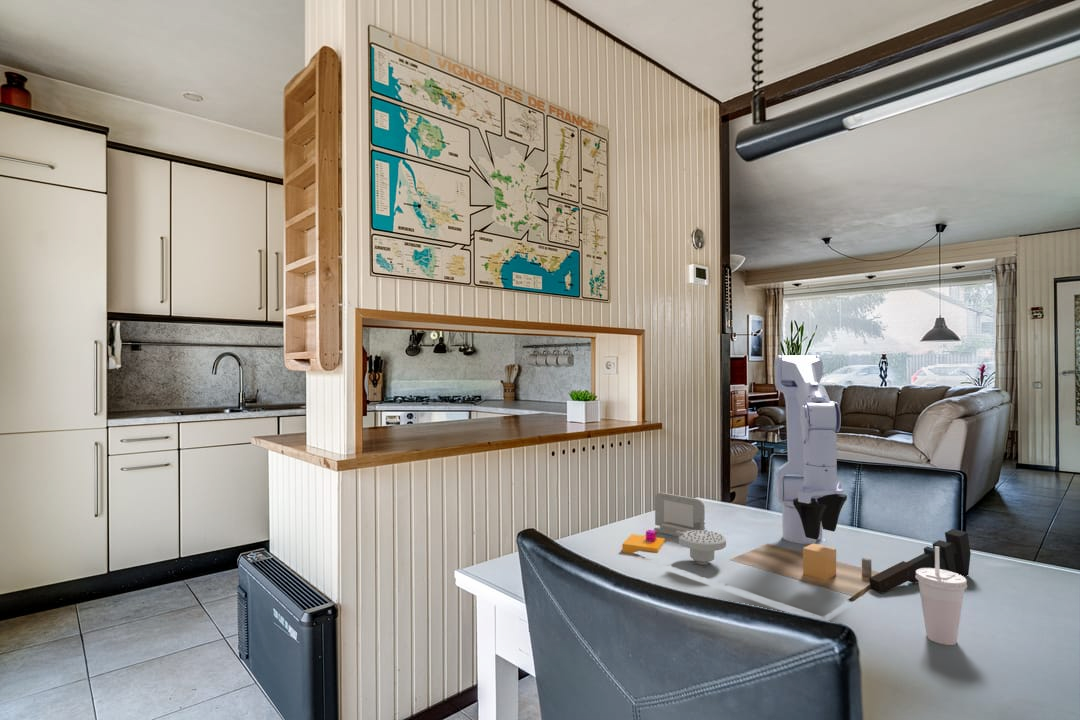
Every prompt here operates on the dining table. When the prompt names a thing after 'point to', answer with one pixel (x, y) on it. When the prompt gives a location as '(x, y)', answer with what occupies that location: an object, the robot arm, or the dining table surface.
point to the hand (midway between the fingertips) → (820, 534)
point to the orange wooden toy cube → (819, 561)
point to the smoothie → (941, 601)
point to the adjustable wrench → (927, 562)
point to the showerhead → (702, 544)
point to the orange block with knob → (643, 542)
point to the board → (791, 566)
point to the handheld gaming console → (678, 514)
